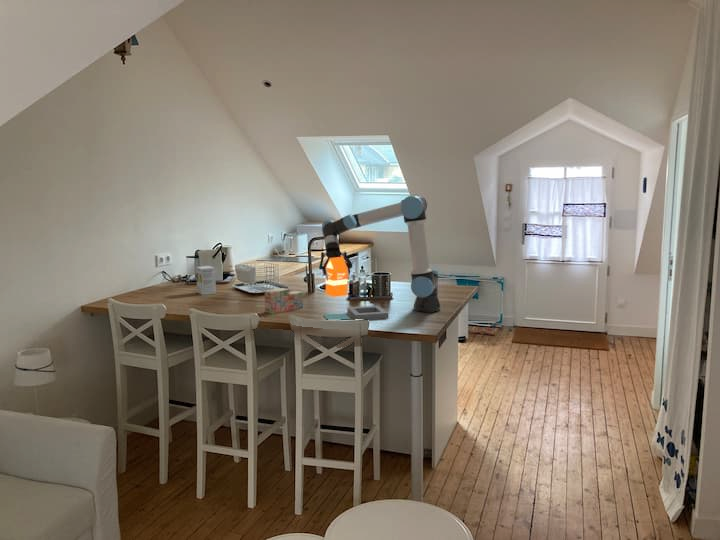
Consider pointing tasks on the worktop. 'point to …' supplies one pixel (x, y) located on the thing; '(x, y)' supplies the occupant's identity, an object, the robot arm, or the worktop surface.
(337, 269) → the orange juice
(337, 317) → the mat
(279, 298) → the patterned cardboard box
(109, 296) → the worktop surface
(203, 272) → the supplement box
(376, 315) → the puzzle board
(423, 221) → the robot arm
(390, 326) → the worktop surface
